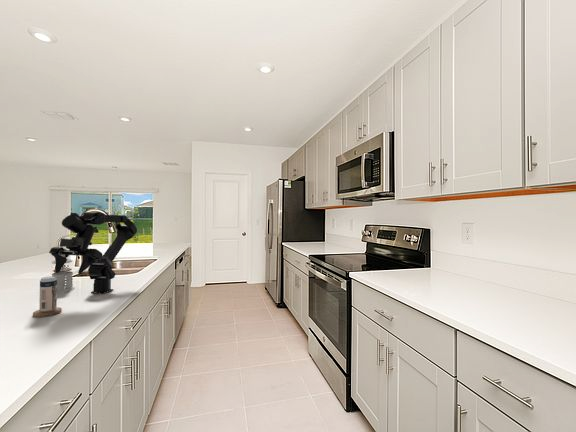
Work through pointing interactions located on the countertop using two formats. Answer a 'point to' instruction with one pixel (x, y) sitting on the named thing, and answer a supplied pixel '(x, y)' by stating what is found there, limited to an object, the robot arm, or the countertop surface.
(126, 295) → the countertop surface
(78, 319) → the countertop surface
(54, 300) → the beer can
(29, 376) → the countertop surface
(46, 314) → the walnut coaster
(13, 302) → the countertop surface
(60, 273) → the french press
